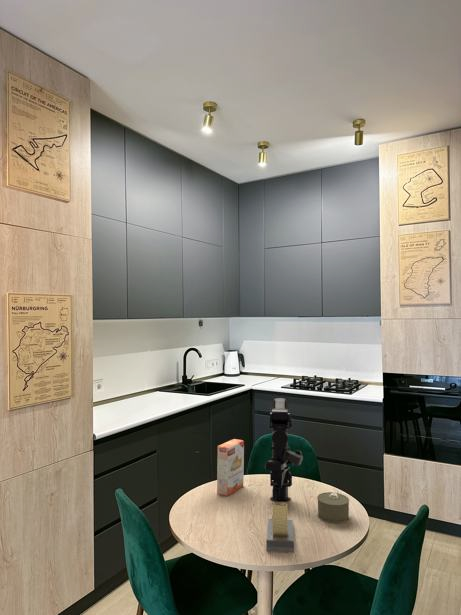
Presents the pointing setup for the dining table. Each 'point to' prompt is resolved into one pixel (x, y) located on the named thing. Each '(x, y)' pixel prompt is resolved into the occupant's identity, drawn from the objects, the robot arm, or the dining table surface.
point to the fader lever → (280, 521)
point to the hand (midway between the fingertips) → (280, 487)
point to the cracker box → (230, 466)
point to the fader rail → (280, 544)
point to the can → (333, 507)
